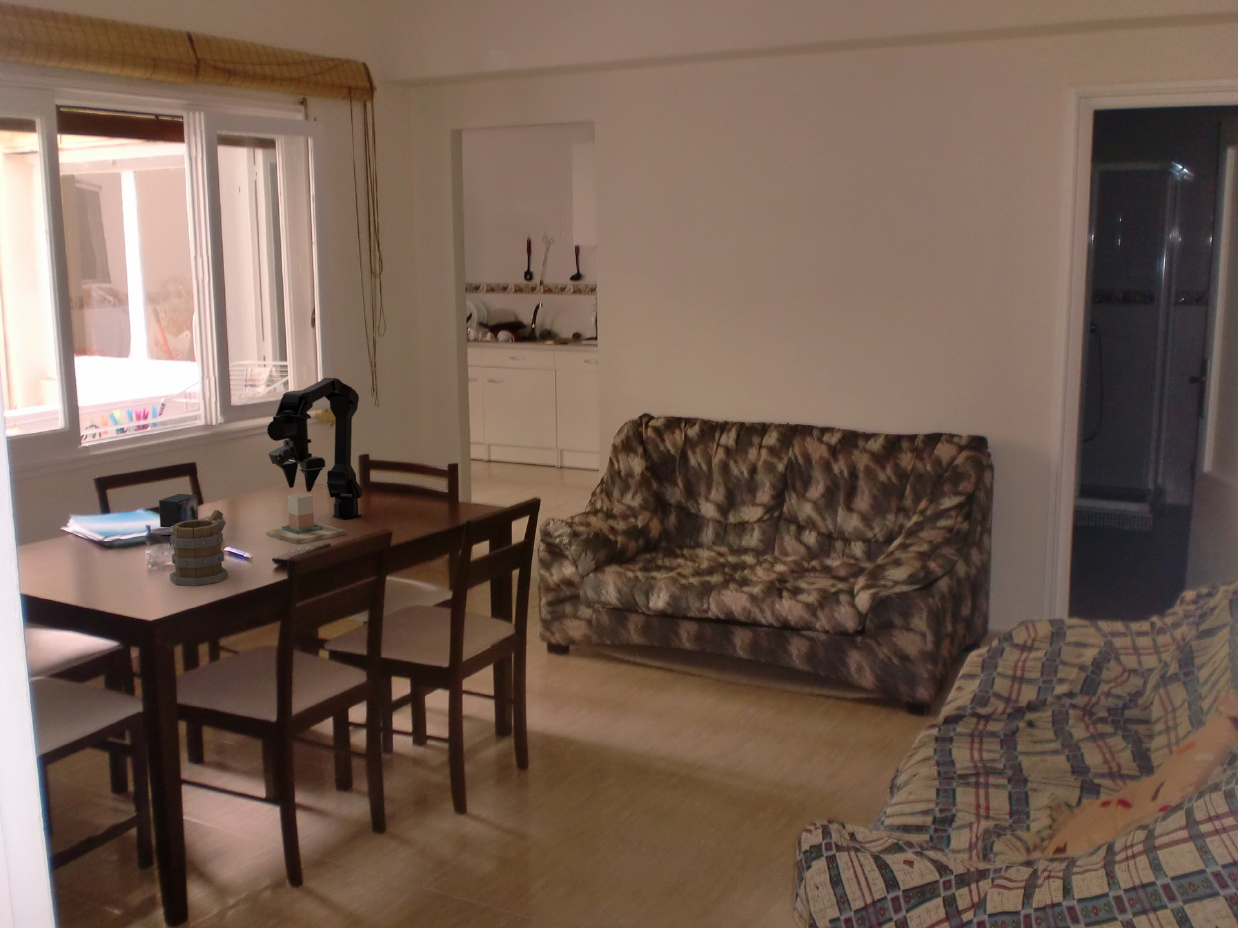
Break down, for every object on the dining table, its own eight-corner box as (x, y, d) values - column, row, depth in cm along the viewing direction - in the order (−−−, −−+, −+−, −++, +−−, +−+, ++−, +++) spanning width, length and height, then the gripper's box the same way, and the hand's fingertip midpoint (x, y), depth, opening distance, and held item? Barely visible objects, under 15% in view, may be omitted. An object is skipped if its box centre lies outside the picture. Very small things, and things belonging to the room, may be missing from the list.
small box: (180, 537, 330) (177, 501, 328) (159, 536, 331) (157, 500, 330) (200, 528, 340) (198, 494, 339) (180, 527, 342) (178, 493, 340)
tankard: (210, 586, 279) (206, 526, 276) (161, 584, 281) (157, 524, 278) (249, 566, 298) (246, 509, 295) (203, 564, 300) (200, 507, 297)
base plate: (314, 526, 343) (314, 518, 343) (345, 534, 333) (345, 527, 332) (266, 535, 332) (266, 527, 332) (296, 544, 321) (296, 536, 321)
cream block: (303, 510, 336) (303, 493, 335) (313, 512, 333) (312, 495, 332) (288, 512, 332) (287, 495, 332) (298, 515, 329) (297, 498, 328)
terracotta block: (304, 527, 337) (303, 510, 336) (314, 529, 334) (313, 512, 333) (289, 529, 333) (288, 512, 332) (299, 532, 330) (298, 515, 329)
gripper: (254, 435, 329) (257, 489, 332) (290, 442, 317) (293, 498, 319) (289, 431, 337) (291, 484, 340) (325, 438, 325) (327, 492, 327)
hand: (300, 489), depth 331 cm, fingers open, 9 cm apart
